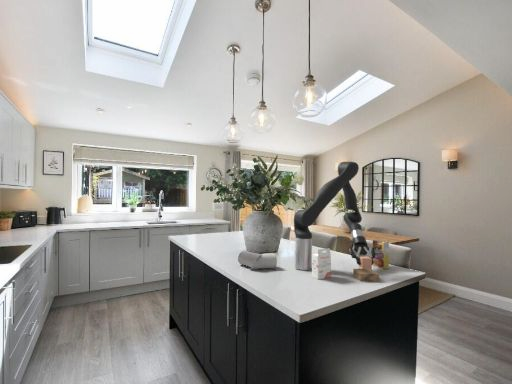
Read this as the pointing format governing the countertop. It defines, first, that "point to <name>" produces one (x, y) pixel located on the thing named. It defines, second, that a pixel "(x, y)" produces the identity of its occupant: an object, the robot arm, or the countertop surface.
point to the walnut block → (366, 275)
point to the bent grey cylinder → (257, 260)
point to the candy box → (381, 254)
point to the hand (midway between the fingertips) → (365, 264)
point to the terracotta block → (365, 262)
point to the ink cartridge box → (321, 264)
